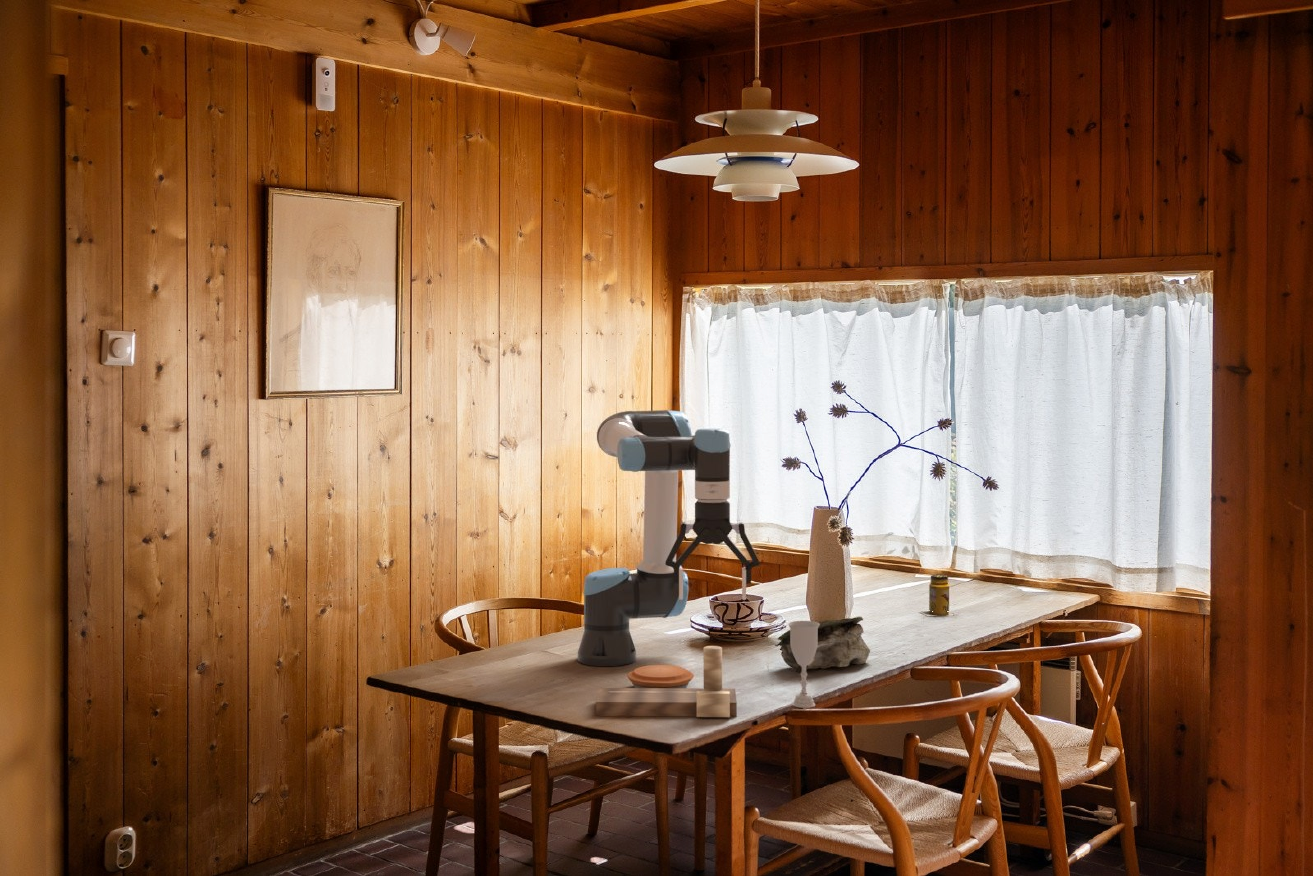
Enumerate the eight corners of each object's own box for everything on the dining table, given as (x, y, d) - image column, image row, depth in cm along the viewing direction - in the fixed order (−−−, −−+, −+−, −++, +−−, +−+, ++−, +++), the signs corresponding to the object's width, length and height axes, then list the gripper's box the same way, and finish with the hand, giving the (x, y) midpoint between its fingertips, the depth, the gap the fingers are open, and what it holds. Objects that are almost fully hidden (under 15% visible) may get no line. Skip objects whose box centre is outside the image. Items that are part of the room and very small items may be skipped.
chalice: (807, 710, 262) (807, 628, 261) (781, 705, 266) (781, 624, 266) (826, 704, 267) (826, 623, 267) (800, 698, 272) (800, 619, 271)
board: (596, 715, 258) (596, 701, 258) (601, 701, 270) (601, 687, 270) (736, 716, 257) (736, 702, 257) (735, 702, 269) (735, 688, 269)
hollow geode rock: (782, 694, 295) (808, 658, 285) (758, 652, 302) (783, 615, 292) (868, 675, 310) (896, 641, 300) (843, 635, 317) (870, 600, 307)
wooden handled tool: (696, 717, 255) (696, 653, 255) (696, 703, 267) (696, 642, 266) (729, 717, 255) (729, 653, 255) (728, 703, 266) (728, 642, 266)
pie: (617, 686, 285) (617, 665, 285) (676, 679, 291) (676, 659, 291) (642, 701, 271) (642, 679, 270) (704, 694, 277) (704, 672, 277)
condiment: (954, 615, 370) (954, 576, 370) (928, 616, 369) (928, 577, 368) (943, 611, 377) (944, 573, 377) (918, 612, 376) (918, 574, 375)
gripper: (653, 502, 256) (654, 601, 257) (771, 502, 255) (771, 601, 256) (655, 498, 264) (655, 595, 264) (769, 498, 263) (769, 595, 264)
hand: (712, 598), depth 260 cm, fingers open, 13 cm apart
